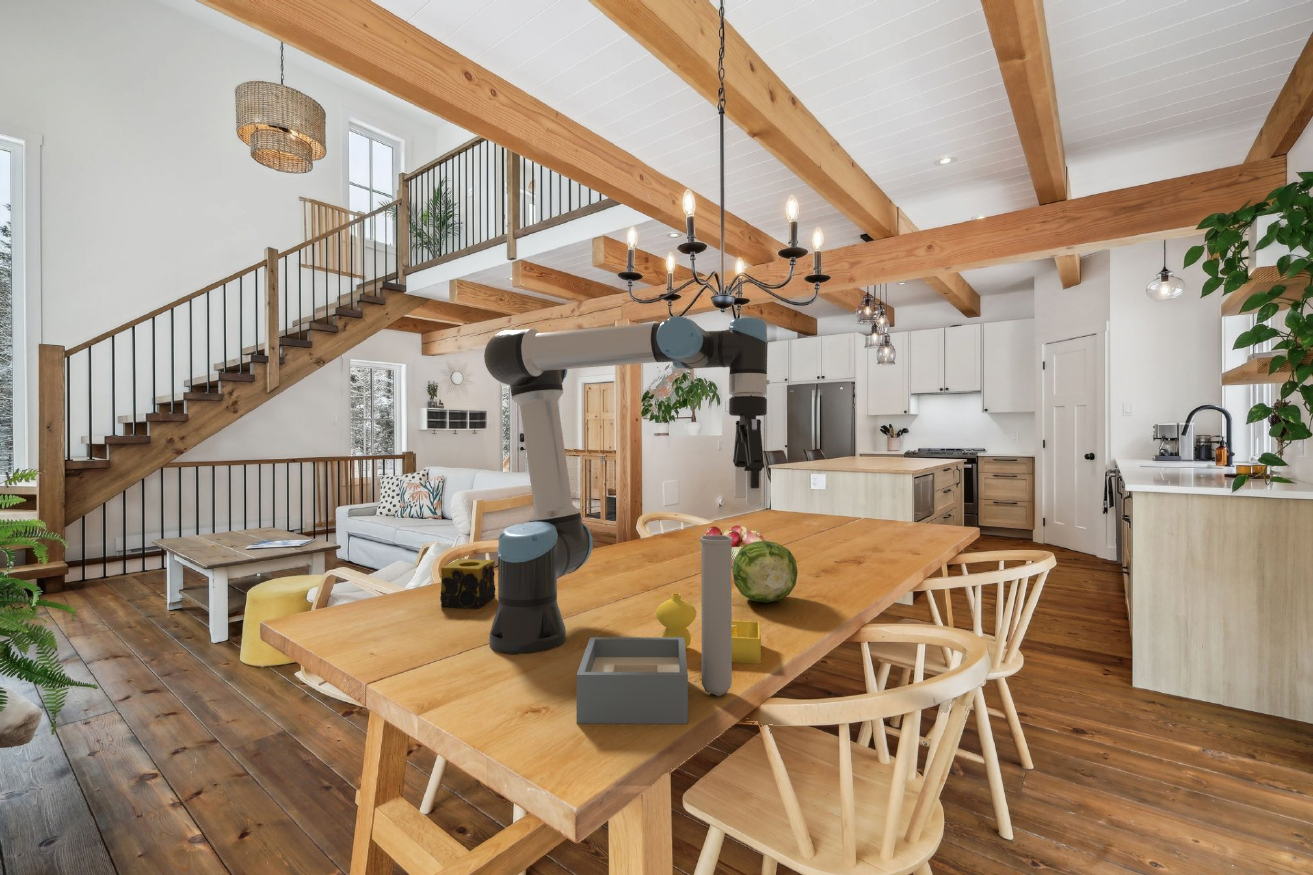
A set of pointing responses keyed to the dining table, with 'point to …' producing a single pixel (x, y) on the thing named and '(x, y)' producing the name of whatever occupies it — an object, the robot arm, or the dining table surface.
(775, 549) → the lettuce
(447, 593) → the yellow and black cube
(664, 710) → the box
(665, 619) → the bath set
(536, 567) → the robot arm
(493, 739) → the dining table surface
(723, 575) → the tube
